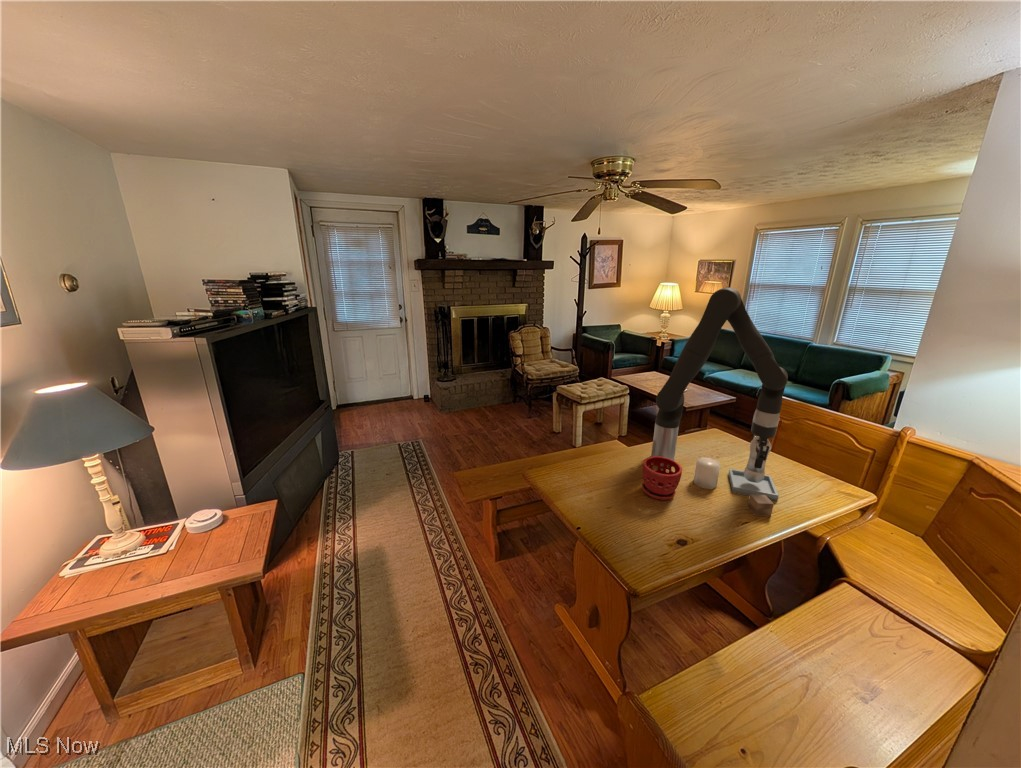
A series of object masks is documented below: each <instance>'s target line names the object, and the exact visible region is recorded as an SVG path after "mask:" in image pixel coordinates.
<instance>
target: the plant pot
mask: <svg viewBox="0 0 1021 768" xmlns="http://www.w3.org/2000/svg"><path fill="white" fill-rule="evenodd" d="M661 463H663V464H664V466H663V465H660V464H661ZM667 465H669V466H667ZM654 467H657V469H656V470H655V469H653V468H654ZM672 467H673V468H674V471H673V470H672ZM667 470H668V471H667ZM682 474H683V468H682V467H681V465H680V464H679V463H678V462H677V461H675V460H674V461H673V460H671V459H669V458H665V457H660V456H653V457H651V456H649V457H647V458H645V459H644V461H643V463H642V475H641V476H642V481H643V482H642V485H641V488H642V491H643V493H645V494H646V495H647V496H649V497H650V498H653V499H656V500H662V501H663V500H665V501H666V500H667V501H668V500H670V499H672V498H674V497H675V495H676V489H677V488H678V487H679V484H680V481H681V479H682Z"/></svg>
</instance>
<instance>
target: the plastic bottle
mask: <svg viewBox="0 0 1021 768" xmlns="http://www.w3.org/2000/svg"><path fill="white" fill-rule="evenodd" d="M756 439H759V436H757V437H756V438H754V439H752V440H751V441H750V444H749V455H748V456H749V457H748V460H747V463H746V466H745V468H744V470H743V471H744V477H745V479H747V480H748V481H751V482H755V483H759V482H761V481H763V479H764V477H765V475H766V471H765V470H766V462H767V460H768V457H769V454H770V452H771V449H772V443H771V441H770V440H769V438H768V439H767V440H768V441H769V445H768V446H769V450H768V454H767V457H766V461H764V460H763V464H762V468H761V469H759V468H755V467H754V464H755V460H756V452H755V449H756V443H755V440H756ZM758 444H759V442H758ZM758 444H757V448H758V450H759V449H760V448H759V446H758ZM766 446H767V445H766ZM760 456H763V455H760Z"/></svg>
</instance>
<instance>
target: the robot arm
mask: <svg viewBox="0 0 1021 768" xmlns="http://www.w3.org/2000/svg"><path fill="white" fill-rule="evenodd" d="M726 322H728V323H729V324H730V326H731V327H732V329H733V330H732V331H734V334H735V336H736V338H737V340H738V343H739V345H740V347H741V349H742V351H743V352H744V354H745V356H746V357H747V358H748V361H749V362H750V363H751V364H752V366H753V367H754V370H755V372H756V375H757V376H758V379H759V380H760V382H761V388H760V389H761V391H760V394H759V396H758V399H757V403H756V408H755V411H754V413H753V416H752V417H753V418H752V422H751V428H750V432H751V434H752V435H753V439H754V438H756V437H757V436H759V439H756V440H755V443H756V449H755V452H756V460H755V464H754V467H755V468H759V469H761V468H762V464H763V460H764V461H766V462H767V460H766V457H767V454H768V450H769V446H768V445H769V441H770V440H769V439H773V438H774V437H776V434H777V430H778V425H779V421H780V415H781V409H782V404H783V397H784V393H785V389H786V385H787V384H788V379H789V376H788V372H787V371H786V369H785V368H783V367H781V366H779V364H778V362H777V361H776V359H775V355H774V353H773V351H772V349H771V348H770V346H769V345H768V343H767V342H766V340H765V339H764V337H763V336H762V334H761V333H760V331H759V330H758V328H757V327H756V325H755V324H754V322H753V321H752V319H751V317H750V315H749V313H748V311H747V309H746V305H745V304H744V301H743V299H742V295H741V293H740V292H739V290H737V289H735V288H733V287H722V288H720V289H717V290H716V291H715V292H713V293H712V295H711V296H710V298H709V300H708V303H707V304H706V306H705V309H704V312H703V314H702V317H701V319H700V321H699V323H698V324H697V326H696V327H695V329H694V331H692V333H691V334H690V336H689V338H688V339H687V341H686V343H685V345H684V346H683V348H682V349H681V352H680V354H679V356H678V358H677V360H676V363H675V364H674V366H673V369H672V371H671V373H670V376H669V378H668V379H667V381H666V382H665V383H664V385H663V387H662V388H661V389H660V391H658V393H657V395H656V397H655V404H656V407H657V408H658V412H657V414H656V417H655V423H654V432H653V439H652V445H651V446H652V447H651V454H650V457H653V456H660V457H665V458H669V459H671V460H673V461H675V457H676V451H677V450H676V449H677V443H678V434H679V427H680V424H681V423H680V422H681V419H682V417H683V410H684V404H685V394H684V393H685V391H686V389H687V388H688V386H689V384H690V383H691V382H692V381H693V379H695V378H696V376H697V375H698V373H700V371H701V370H702V368H703V367H704V365H705V364H706V362H707V361H708V359H709V357H710V355H711V353H712V352H713V349H714V346H715V344H716V341H717V339H718V336H719V334H720V332H721V329H722V328H723V326H724V325H725V323H726ZM753 439H752V440H753ZM767 439H768V440H769V441H768V440H767ZM758 442H759V444H758ZM757 444H758V446H759V448H760V449H759V450H758V448H757ZM766 445H767V446H766ZM760 455H763V456H760ZM767 458H768V457H767ZM660 465H661V466H664V464H663V463H661V464H660ZM667 467H669V465H667Z"/></svg>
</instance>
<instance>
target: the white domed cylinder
mask: <svg viewBox="0 0 1021 768" xmlns="http://www.w3.org/2000/svg"><path fill="white" fill-rule="evenodd" d="M720 470H721V463H720V461H718V460H716V459H714V458H711V457H705V456H704V457H703V456H701V457H698V458H697V459H696V464H695V469H694V476H693V482H694V484H695V485H696V486H697V487H699V488H702V489H706V490H712V489H713V490H714V489H716V488H717V487H718V480H719V475H720Z"/></svg>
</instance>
